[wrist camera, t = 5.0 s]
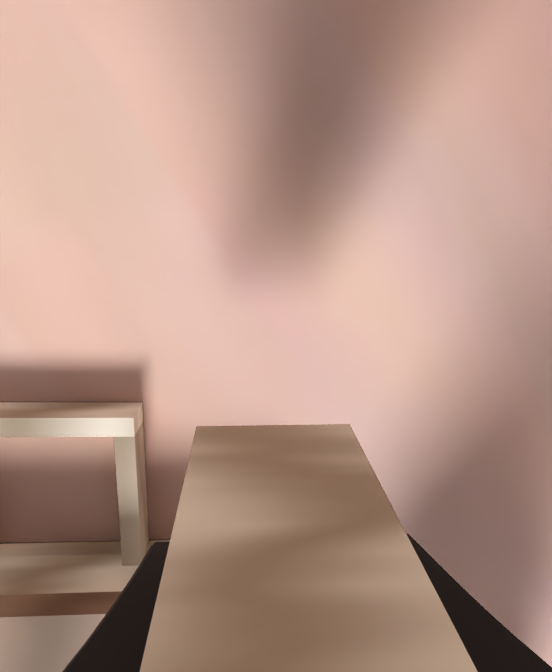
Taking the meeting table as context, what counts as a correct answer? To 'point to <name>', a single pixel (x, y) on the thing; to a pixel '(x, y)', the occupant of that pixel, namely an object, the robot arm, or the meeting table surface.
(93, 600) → the lid
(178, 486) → the meeting table surface
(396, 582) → the cream rectangular block
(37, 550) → the cream rectangular tray
